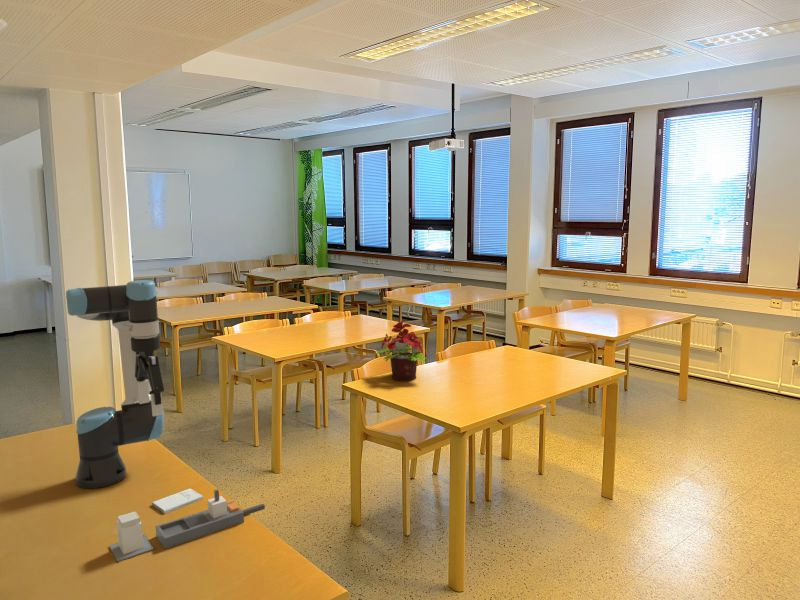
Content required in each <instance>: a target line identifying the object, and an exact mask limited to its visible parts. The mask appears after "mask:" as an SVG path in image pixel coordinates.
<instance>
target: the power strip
mask: <svg viewBox="0 0 800 600" xmlns="http://www.w3.org/2000/svg"><path fill="white" fill-rule="evenodd" d="M213 496H214V497H212V498H209V499H207V509H206V510H203V511H199V512H197V513H193V514H190V515H187V516H184V517H180V518H177V519H174V520H171V521H167V522H164V523H161V524H159V525H158V524H157V525H155V534H156V536H155V537H156V538H157V539H158V541H159V542H160V544H161V545H162V546H163V548H164V549H165V550H166V549H169V548H173V547H175V546H178V545H182V544H184V543H187V542H189V541H192V540H196V539H199V538H201V537H204V536H208V535H210V534H214V533H217V532H219V531H222V530H225V529H228V528H232V527H234V526H237V525H240V524H243V523H244V522H245V516H247V515H251V514H254V513H257V512H259V511H263V510H265V509H266V506H265V504H264V503H260V504H258V505H255V506H252V507H248V508H245V509H243V510H241V508H239V506H238V505H237V504H236V503H235V502H234V501H230V502H228V503H227V500H226V499H225V498H224V497H223V496H222V495H220V490H219V489H214V490H213Z"/></svg>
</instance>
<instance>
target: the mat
mask: <svg viewBox="0 0 800 600" xmlns="http://www.w3.org/2000/svg"><path fill="white" fill-rule="evenodd" d="M143 544H144V548H141V549H138V550H135V551H132V552H129V553H126V554H123V552H122V551H121V549H120V547H119V541H118V542H116V543H113V544H110V545H108V547H109V550H110V551H111V553H112V555H113V557H114V559H115V560H116V562H117V563H119V562H123V561H125V560H128V559H131V558H134V557H137V556H140V555H143V554H146V553H149V552H152V551H154V550H155V548H154V547H153V545H152V543H151V542H150V540H149V539H148V537H147V536H146V535H145V534H143Z"/></svg>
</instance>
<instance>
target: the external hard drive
mask: <svg viewBox="0 0 800 600" xmlns="http://www.w3.org/2000/svg"><path fill="white" fill-rule="evenodd" d="M202 500H204V495H202V494H200V492H199V493H198V491H195V490H194V489H192V488H190V487H189V488H188V489H185V490H182V491H179V492H176V493H174V494H171V495H168V496H166V497H163V498H160V499H157V500H154V501H152V502H151V506H152V507H154V508H155V509H157V510H158V511H160V513H163V514H164V515H165V514H168V513H170V512H174V511H176V510H178V509H181V508H183V507H187V506H189V505H191V504H194V503H196V502H199V501H202Z"/></svg>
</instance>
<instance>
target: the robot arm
mask: <svg viewBox="0 0 800 600" xmlns="http://www.w3.org/2000/svg"><path fill="white" fill-rule="evenodd" d="M157 294H158V292H157V289H156V283H155V281H153V280H152V279H151V280H149V279H140V280H139V279H136V280H131V281H128V282H127V283H126V284H121V285H108V286H96V287H95V286H94V287H82V288H81V287H77V288H70V289H67V290H66V292H65V297H66V298H65V299H66V308H67V314H68V315H69V316H76V317H77V318H80V319H81V320H82V319H83V320H88V321H97V322H98V321H99V322H101V321H102V322H103V321H111V323H112V325H111V326H113V327H114V328H115V329H116V330H117V334H118V342H119V352H120V361H121V370H122V379H123V388H124V397H125V398H124V400H123V402H122V403H121V404H120V407H121V409H120V410H116V409H115V407H113V406H107V407H106V406H100V407H98V408H93V409H90V410H89V411H85V412H84V413H82V414H81V415H79V417H78V418H77V419H76V430H75V431H76V432H75V433H76V434H77V442H78V443H77V445H78V455H79V462H78V467H77V470H76V474H75V484H76V486H77V487H79V488H82V489H98V488H104V487H108V486H111V485H112V486H113V485H114V484H117V483H119V482H121V481H122V480H123V479H125V478H126V476H127V468H126V465H125V463H124V461H123V458H122V457H121V455H120V452H119V446H120V447H121V446H124V445H125V446H126V445H131V444H137V443H142V442H149V441H151V440H156V439H159V438H160V437H161V436H162V435H163V432H164V424H165V410H164V405H163V395H162V394H163V393H162V392H164V391H165V387H164V384H163V383H164V382H163V378H162V375H161V374H162V372H161V369H160V363H159V362H160V361H159V356H158V355H155V353H154V352H155V351H157V350H159V349H160V348H161V339H160V338H161V337H160V336H159V334H160V324H159V323H160V321H159V317H158V316H159V315H158V301H157V300H158V298H157Z"/></svg>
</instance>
